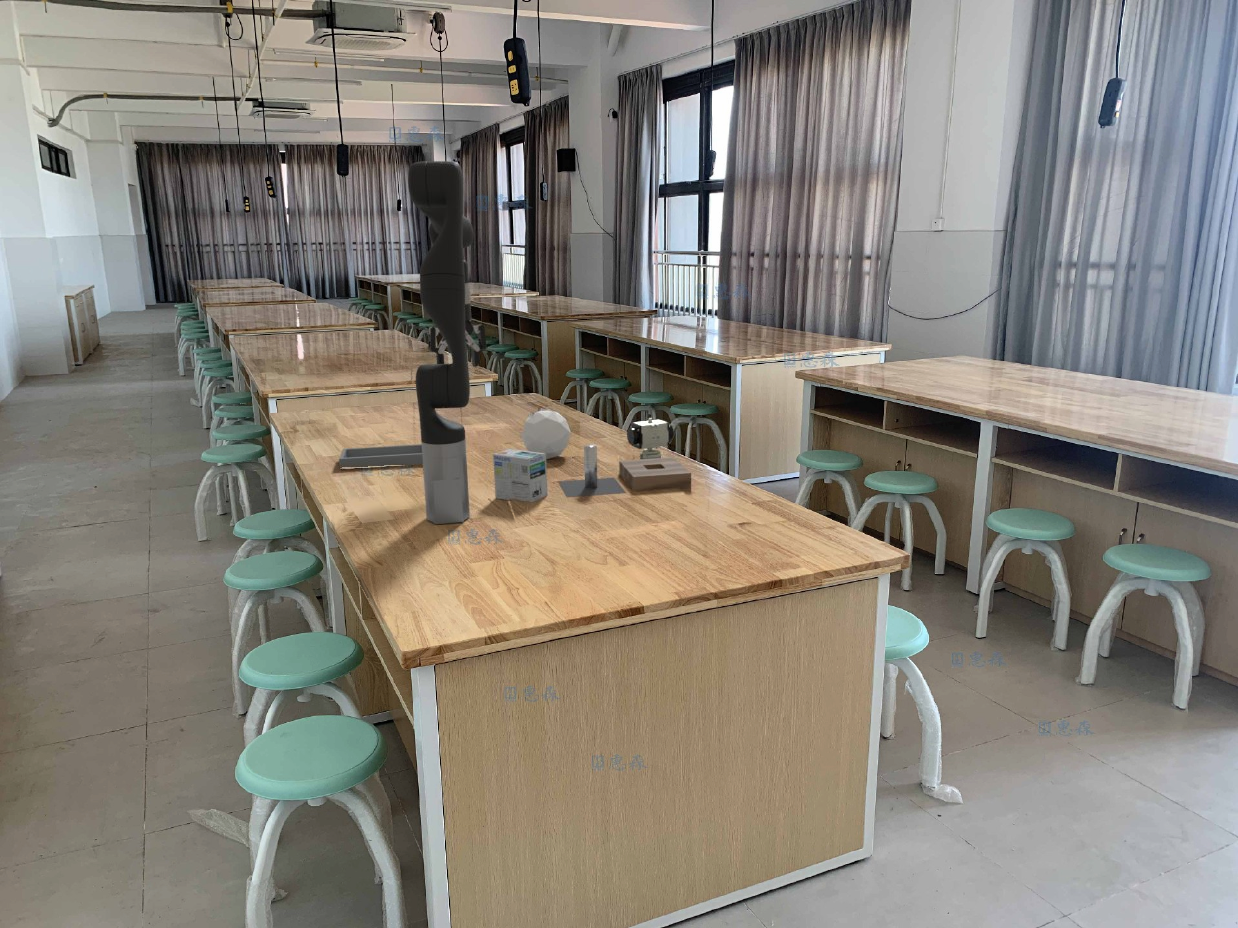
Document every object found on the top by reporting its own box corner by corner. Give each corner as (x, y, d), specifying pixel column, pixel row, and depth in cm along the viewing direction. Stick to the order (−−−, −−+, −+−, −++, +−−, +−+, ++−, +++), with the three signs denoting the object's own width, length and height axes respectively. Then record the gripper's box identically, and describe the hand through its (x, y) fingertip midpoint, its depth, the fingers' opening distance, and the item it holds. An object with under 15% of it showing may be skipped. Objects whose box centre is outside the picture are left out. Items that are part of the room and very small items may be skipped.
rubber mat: (626, 495, 210) (626, 492, 210) (566, 499, 207) (566, 497, 207) (614, 479, 223) (614, 477, 223) (558, 483, 220) (557, 481, 220)
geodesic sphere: (528, 446, 234) (553, 401, 236) (500, 438, 244) (524, 395, 247) (564, 471, 243) (588, 427, 246) (536, 462, 254) (558, 420, 256)
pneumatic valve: (626, 463, 239) (626, 419, 236) (665, 458, 244) (665, 414, 241) (636, 468, 234) (635, 422, 231) (675, 462, 239) (675, 418, 236)
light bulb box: (548, 497, 209) (547, 452, 206) (531, 505, 203) (529, 458, 201) (511, 491, 214) (509, 447, 212) (494, 498, 209) (491, 453, 206)
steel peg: (598, 488, 214) (597, 447, 211) (586, 489, 213) (585, 447, 211) (596, 484, 217) (595, 444, 214) (584, 485, 216) (583, 445, 214)
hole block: (691, 489, 214) (691, 472, 213) (633, 493, 211) (633, 476, 210) (673, 472, 229) (673, 457, 228) (619, 476, 226) (619, 460, 225)
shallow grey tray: (429, 464, 241) (428, 453, 240) (340, 470, 236) (339, 459, 235) (429, 454, 252) (428, 443, 251) (343, 459, 247) (342, 448, 247)
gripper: (430, 304, 216) (434, 371, 220) (487, 301, 223) (490, 367, 226) (422, 302, 223) (426, 368, 227) (478, 300, 229) (481, 364, 233)
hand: (458, 367), depth 227 cm, fingers open, 8 cm apart
